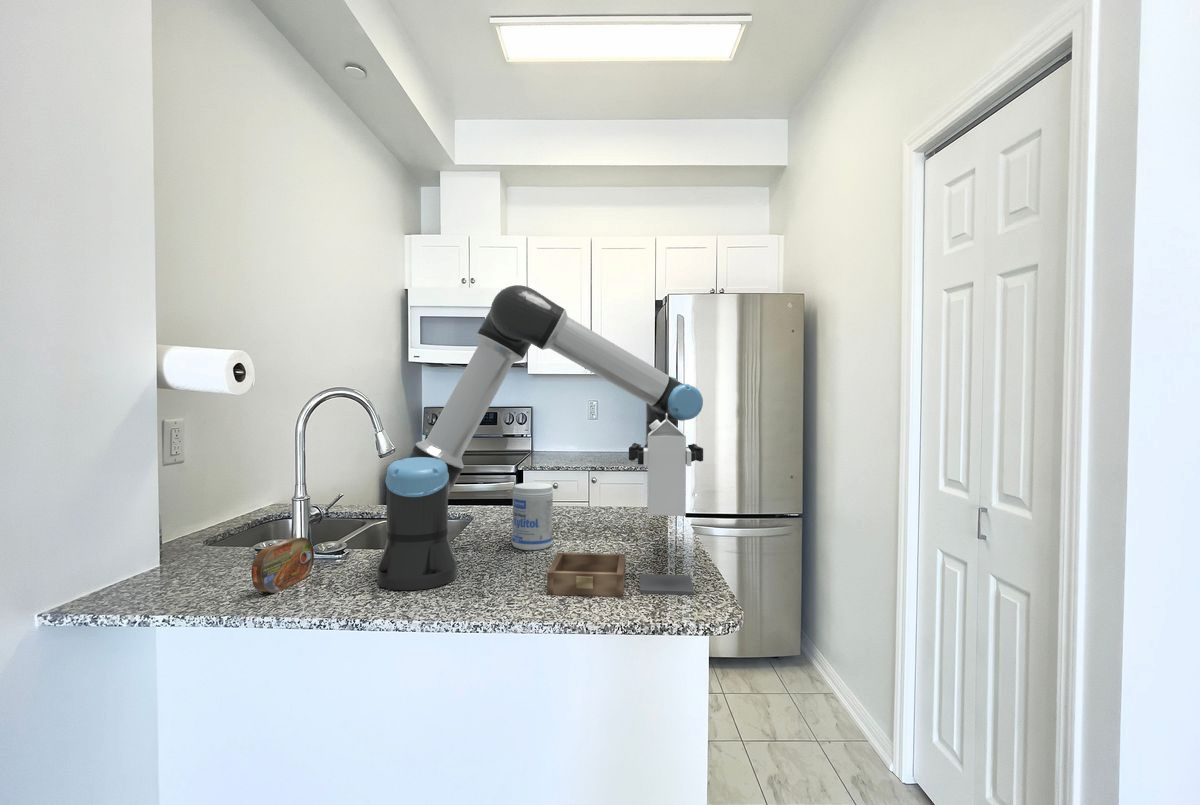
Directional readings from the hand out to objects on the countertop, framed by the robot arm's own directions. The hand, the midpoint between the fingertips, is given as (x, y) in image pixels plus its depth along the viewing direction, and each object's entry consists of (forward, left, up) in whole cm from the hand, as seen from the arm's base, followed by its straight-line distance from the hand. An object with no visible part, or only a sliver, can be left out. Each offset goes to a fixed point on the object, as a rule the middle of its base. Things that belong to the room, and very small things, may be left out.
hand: (667, 458), depth 111 cm
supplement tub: (-31, +32, -25) cm, 51 cm away
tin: (-73, -1, -25) cm, 77 cm away
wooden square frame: (-15, +5, -25) cm, 30 cm away
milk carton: (0, +5, -11) cm, 12 cm away
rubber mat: (0, +5, -25) cm, 25 cm away
